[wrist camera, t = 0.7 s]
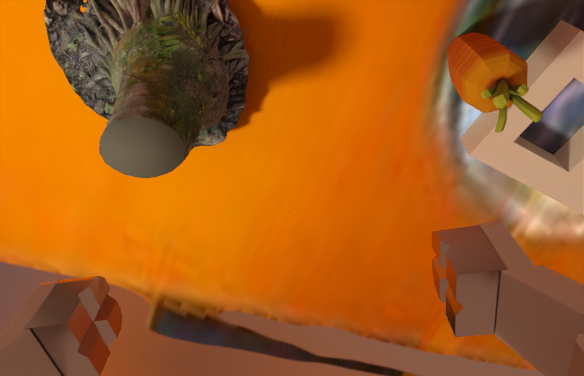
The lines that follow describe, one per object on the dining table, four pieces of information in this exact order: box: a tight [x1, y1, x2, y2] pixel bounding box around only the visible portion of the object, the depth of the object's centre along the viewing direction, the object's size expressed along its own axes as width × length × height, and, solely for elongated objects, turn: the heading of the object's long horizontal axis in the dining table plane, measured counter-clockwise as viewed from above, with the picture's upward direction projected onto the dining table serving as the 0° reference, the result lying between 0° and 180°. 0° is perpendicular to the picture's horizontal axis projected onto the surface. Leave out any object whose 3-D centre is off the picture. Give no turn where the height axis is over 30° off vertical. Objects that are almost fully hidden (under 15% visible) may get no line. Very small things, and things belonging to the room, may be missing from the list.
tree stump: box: [44, 0, 250, 178], centre depth 37 cm, size 18×20×18 cm
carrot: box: [447, 32, 543, 133], centre depth 35 cm, size 5×5×15 cm
